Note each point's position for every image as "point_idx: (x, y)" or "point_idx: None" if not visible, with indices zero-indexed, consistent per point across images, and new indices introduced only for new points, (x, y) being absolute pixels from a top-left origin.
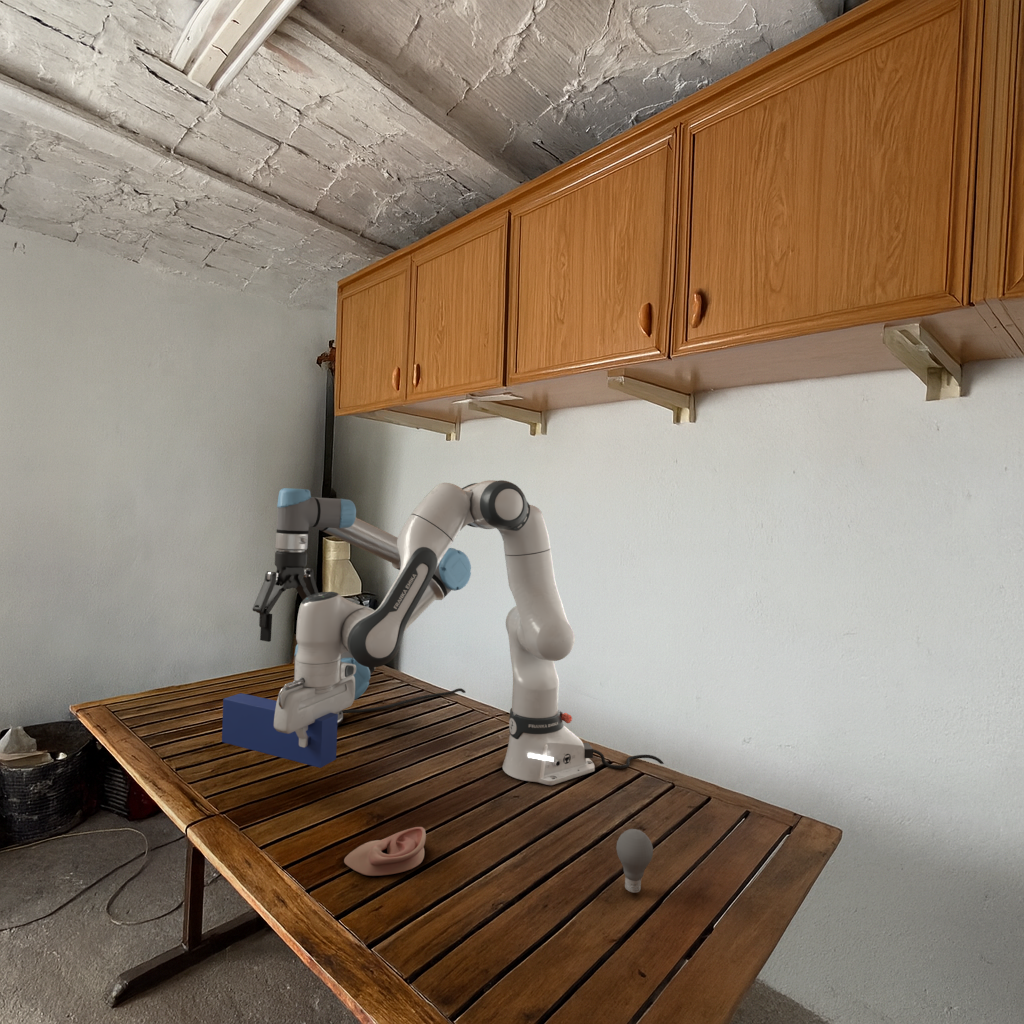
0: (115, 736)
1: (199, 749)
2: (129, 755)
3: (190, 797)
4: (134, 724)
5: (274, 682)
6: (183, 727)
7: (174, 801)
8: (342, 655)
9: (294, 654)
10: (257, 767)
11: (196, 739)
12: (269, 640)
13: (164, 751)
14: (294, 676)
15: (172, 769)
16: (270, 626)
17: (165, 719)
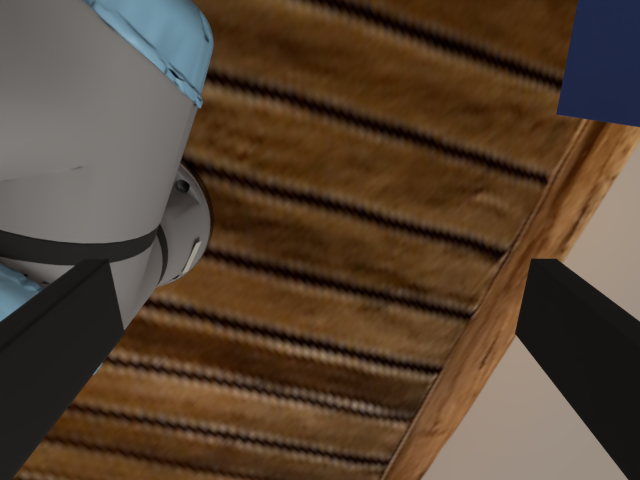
0: (428, 451)
1: (405, 298)
2: (483, 370)
3: (602, 122)
4: (371, 472)
5: (29, 469)
6: (336, 405)
7: (626, 135)
8: (22, 14)
9: (96, 371)
10: (424, 119)
11: (369, 342)
12: (549, 262)
13: (443, 340)
14: (136, 313)
15: (504, 261)
16: (629, 325)
17: (324, 456)
